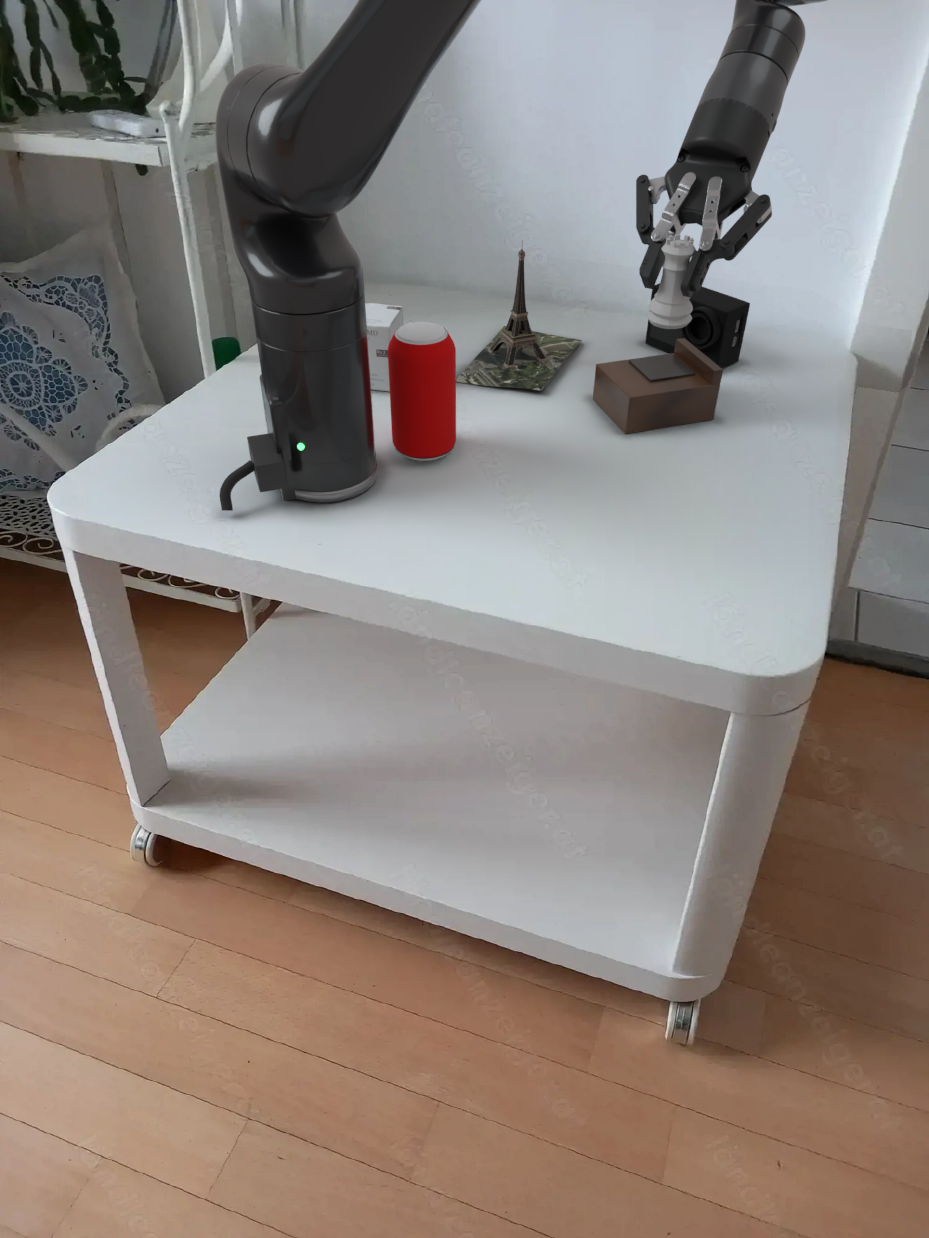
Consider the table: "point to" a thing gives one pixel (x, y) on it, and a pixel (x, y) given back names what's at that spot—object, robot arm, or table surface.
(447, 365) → the beverage can
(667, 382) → the wooden stepped block
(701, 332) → the digital camera
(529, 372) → the eiffel tower figurine
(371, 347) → the product carton
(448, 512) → the table surface
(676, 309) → the rook chess piece
